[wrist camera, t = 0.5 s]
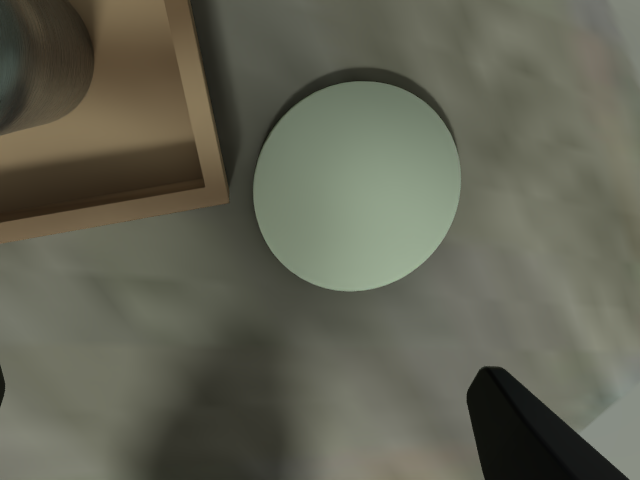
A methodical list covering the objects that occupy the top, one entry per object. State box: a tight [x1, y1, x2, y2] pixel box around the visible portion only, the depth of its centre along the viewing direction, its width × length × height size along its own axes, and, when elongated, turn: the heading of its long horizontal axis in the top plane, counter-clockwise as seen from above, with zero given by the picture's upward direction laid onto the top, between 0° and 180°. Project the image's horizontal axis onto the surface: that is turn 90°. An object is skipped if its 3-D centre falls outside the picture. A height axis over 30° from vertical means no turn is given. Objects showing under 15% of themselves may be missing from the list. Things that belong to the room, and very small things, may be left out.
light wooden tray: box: [0, 0, 229, 244], centre depth 18 cm, size 14×14×2 cm
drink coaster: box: [253, 81, 461, 291], centre depth 23 cm, size 10×10×1 cm
